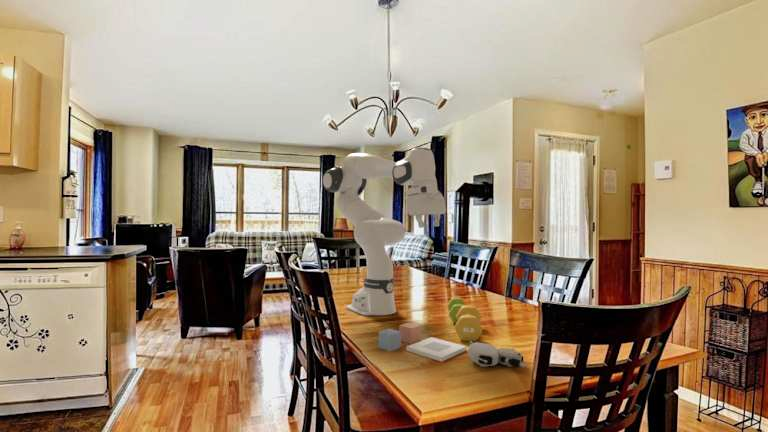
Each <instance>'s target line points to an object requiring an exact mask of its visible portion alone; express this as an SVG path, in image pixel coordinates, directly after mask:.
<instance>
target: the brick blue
mask: <svg viewBox="0 0 768 432" xmlns="http://www.w3.org/2000/svg"><path fill="white" fill-rule="evenodd" d="M377 333H378V338H377V339H378V342H377V343H378V344H377V345H378V348H379V349H382V350H384V351H387V352H392V351H395V350H396V351H397V350H398V349H400V348H402V341H401V332H400V331H399V330H396V329H393V328H385V329H383V330H380V331H378V332H377Z"/></svg>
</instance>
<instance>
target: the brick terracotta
mask: <svg viewBox="0 0 768 432" xmlns="http://www.w3.org/2000/svg"><path fill="white" fill-rule="evenodd" d="M398 327H399V330H398V331H400V332H401V342H405V343H408V344H410V345H412V344H414V343H417V342H420V341H422V339H421V338H422V337H421V336H422V335H421V333H422V332H421V330H422V325H421V324H417V323H414V322H406V323H402V324H399V326H398Z"/></svg>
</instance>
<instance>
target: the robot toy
mask: <svg viewBox="0 0 768 432" xmlns="http://www.w3.org/2000/svg"><path fill="white" fill-rule="evenodd" d="M468 342H469V343H470V344H469V346H468V353H467V356H468V357H469V358H470V360H471V361H472V362H474V363H475V364H477V365H478V366H480V367H482V368H487V367H489V366H491V367H492V366H495V365H497V364H498V363H500V364H501V365H502V366H503V365H504V366H507V367H509V368H513V367H515V368H525V367H527V363H525V362H524V356H523V355H522V353H520V352H519V350H515V349H514V348H504V347H501V348H499V349H497V348H496V347H495V346H494V345H492V344H489V343H483V342H477V341H475V342H474V341H468Z"/></svg>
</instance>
